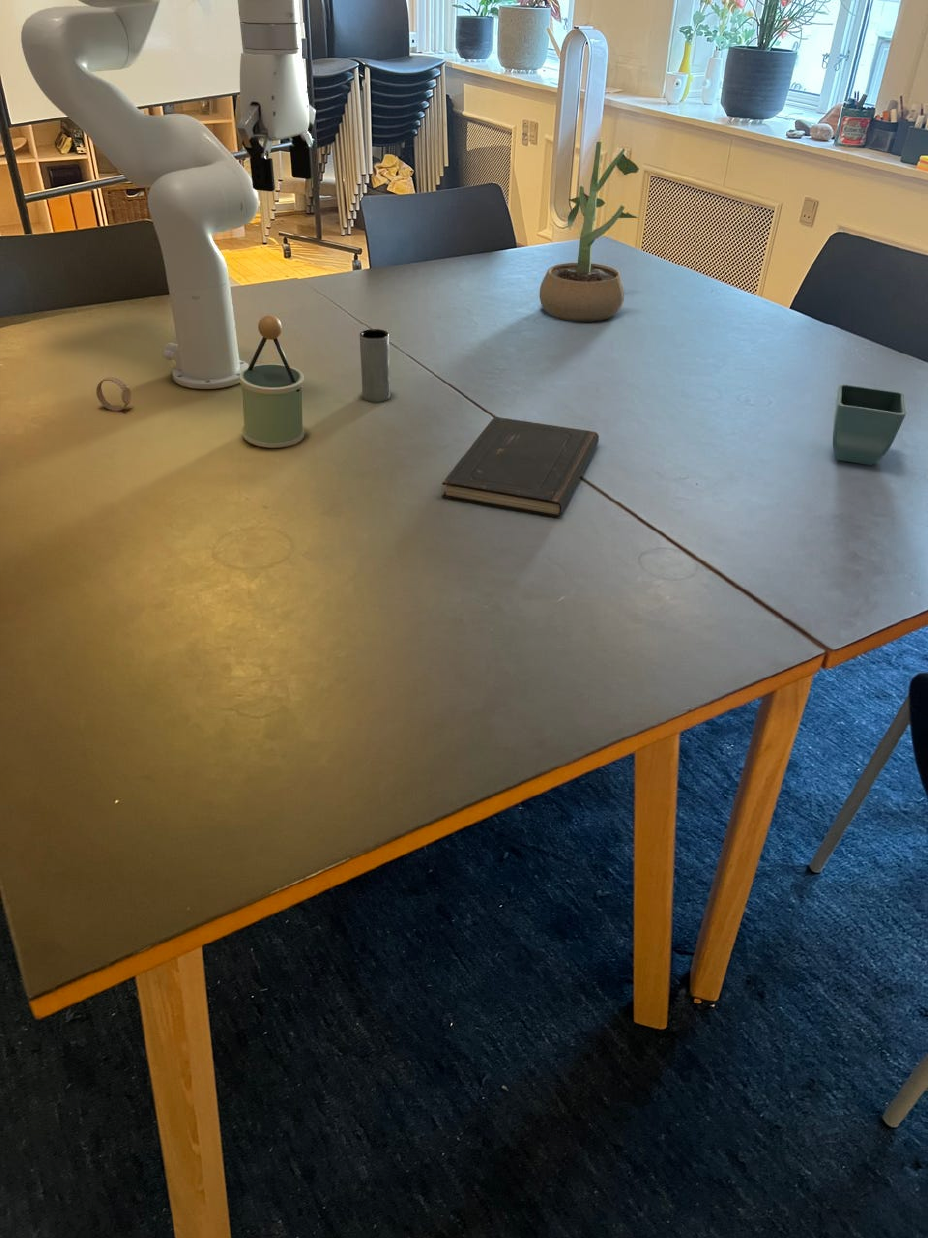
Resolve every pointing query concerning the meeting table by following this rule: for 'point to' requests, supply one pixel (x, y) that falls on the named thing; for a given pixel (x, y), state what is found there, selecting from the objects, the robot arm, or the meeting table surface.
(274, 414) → the green hollow rimmed cylinder
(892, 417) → the flower pot
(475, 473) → the hardcover book
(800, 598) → the meeting table surface
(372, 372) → the grey hollow tube
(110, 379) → the brown ring
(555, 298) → the potted plant
